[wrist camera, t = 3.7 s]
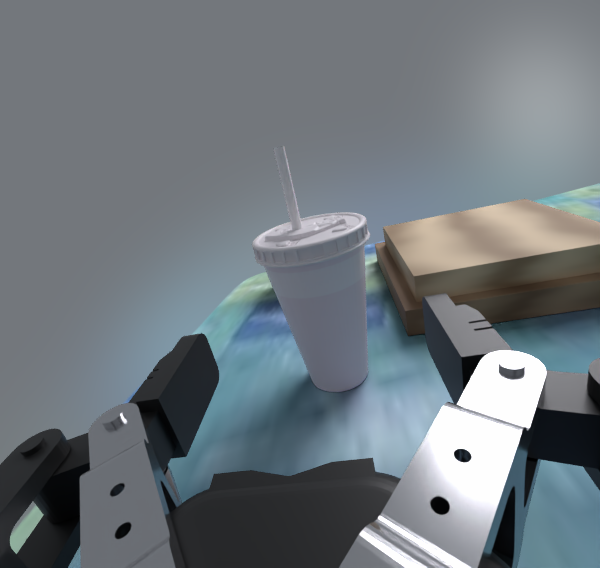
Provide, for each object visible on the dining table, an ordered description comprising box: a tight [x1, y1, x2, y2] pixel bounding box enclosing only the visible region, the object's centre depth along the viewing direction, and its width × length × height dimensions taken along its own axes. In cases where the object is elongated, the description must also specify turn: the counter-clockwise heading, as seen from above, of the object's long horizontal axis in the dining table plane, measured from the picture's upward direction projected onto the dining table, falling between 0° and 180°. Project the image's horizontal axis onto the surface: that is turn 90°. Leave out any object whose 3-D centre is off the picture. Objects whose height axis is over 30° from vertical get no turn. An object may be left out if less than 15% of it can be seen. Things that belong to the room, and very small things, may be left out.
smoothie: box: [252, 146, 370, 392], centre depth 20 cm, size 6×6×14 cm
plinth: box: [375, 199, 600, 336], centre depth 30 cm, size 16×16×4 cm
